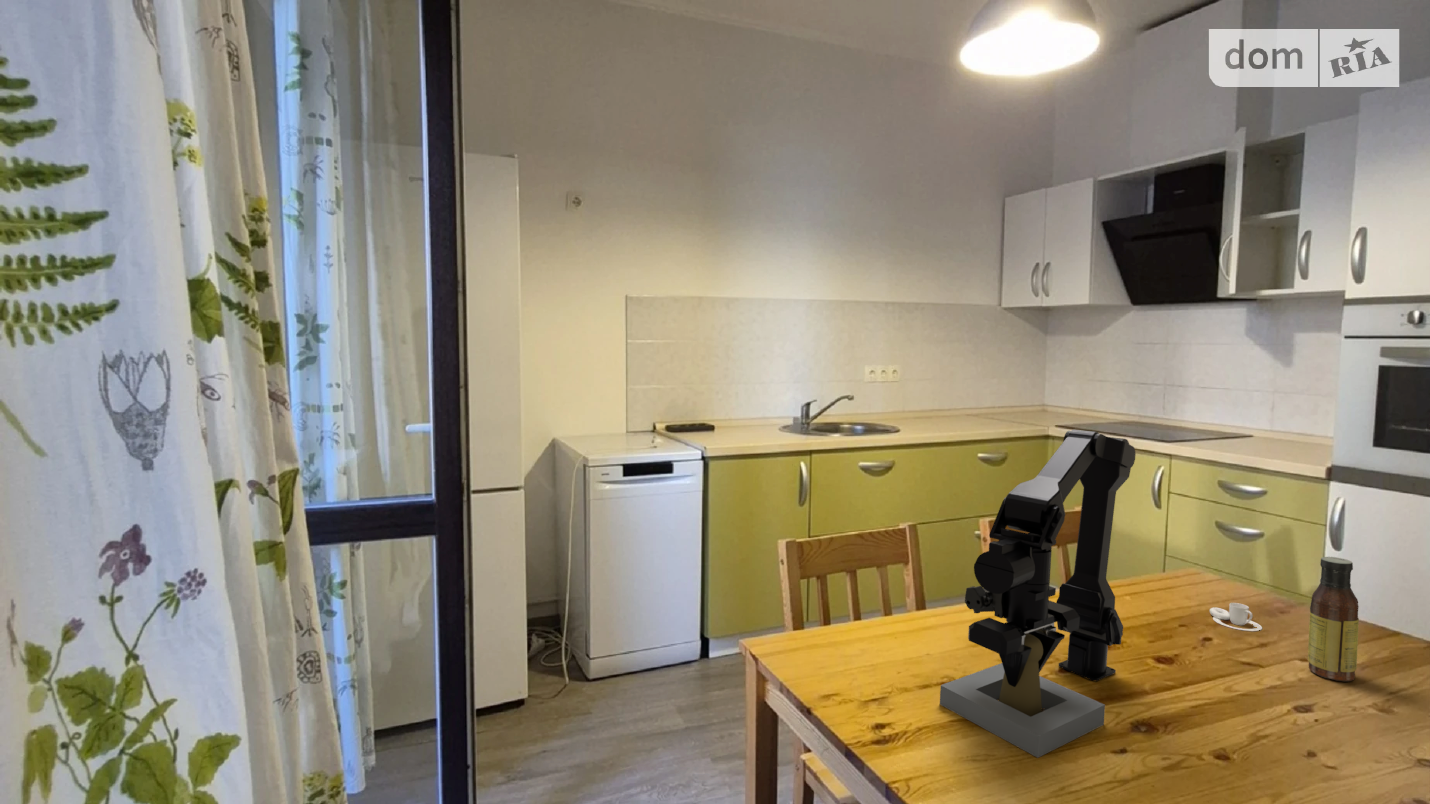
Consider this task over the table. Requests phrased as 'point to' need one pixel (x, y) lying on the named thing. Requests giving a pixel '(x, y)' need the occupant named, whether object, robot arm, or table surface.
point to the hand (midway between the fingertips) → (1022, 681)
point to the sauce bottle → (1334, 623)
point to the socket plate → (1033, 734)
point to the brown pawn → (1026, 682)
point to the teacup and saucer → (1235, 616)
